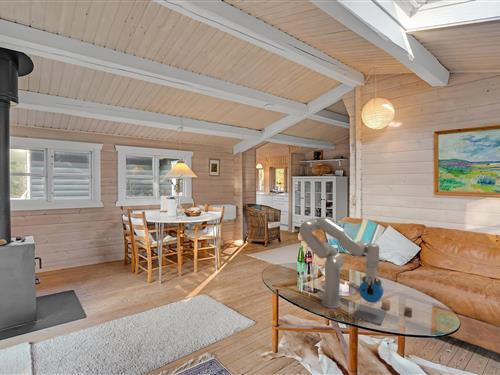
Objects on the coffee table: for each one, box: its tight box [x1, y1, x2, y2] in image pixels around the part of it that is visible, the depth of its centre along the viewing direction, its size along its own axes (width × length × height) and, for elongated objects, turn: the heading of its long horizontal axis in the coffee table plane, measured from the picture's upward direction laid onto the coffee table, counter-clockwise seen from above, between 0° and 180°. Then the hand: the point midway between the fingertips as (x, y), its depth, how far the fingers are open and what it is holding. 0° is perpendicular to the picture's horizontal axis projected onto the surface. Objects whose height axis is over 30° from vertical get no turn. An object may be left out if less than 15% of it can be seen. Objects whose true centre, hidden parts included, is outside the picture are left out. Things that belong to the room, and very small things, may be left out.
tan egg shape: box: [381, 298, 391, 311], centre depth 193 cm, size 5×5×5 cm
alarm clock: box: [358, 275, 384, 304], centre depth 184 cm, size 13×6×15 cm, turn 55°
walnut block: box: [403, 306, 413, 318], centre depth 185 cm, size 4×4×4 cm
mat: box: [352, 304, 387, 326], centre depth 184 cm, size 16×20×1 cm
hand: (371, 292), depth 184 cm, fingers closed on alarm clock, 6 cm apart
